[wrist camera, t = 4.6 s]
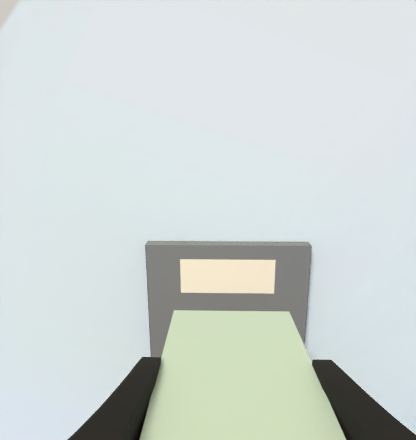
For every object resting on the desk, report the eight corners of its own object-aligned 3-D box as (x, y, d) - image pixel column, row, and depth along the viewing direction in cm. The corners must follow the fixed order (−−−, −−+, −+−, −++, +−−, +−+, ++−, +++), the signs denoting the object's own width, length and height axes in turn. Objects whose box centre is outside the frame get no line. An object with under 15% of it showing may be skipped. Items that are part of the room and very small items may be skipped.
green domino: (173, 310, 14) (65, 717, 4) (289, 311, 13) (479, 738, 4) (174, 342, 14) (77, 791, 4) (287, 344, 14) (455, 812, 4)
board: (307, 242, 19) (311, 245, 19) (284, 577, 26) (286, 591, 25) (147, 241, 20) (145, 245, 19) (163, 573, 26) (162, 587, 25)
